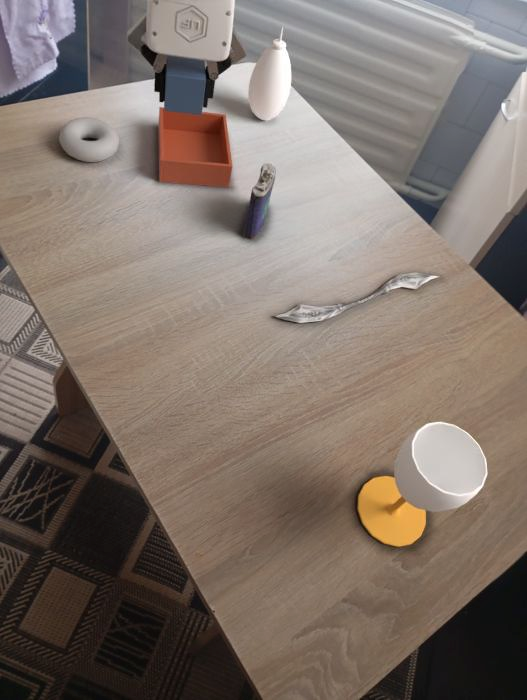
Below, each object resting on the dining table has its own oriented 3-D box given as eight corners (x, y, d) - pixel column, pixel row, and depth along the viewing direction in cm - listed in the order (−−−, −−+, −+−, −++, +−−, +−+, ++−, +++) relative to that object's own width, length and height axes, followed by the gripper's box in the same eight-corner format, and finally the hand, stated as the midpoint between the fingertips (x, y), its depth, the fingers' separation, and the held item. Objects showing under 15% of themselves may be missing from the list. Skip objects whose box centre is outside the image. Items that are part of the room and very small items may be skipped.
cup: (380, 558, 67) (440, 513, 54) (344, 490, 71) (391, 433, 58) (439, 530, 71) (508, 482, 58) (401, 466, 75) (457, 408, 62)
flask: (253, 202, 99) (266, 151, 91) (269, 207, 100) (283, 156, 91) (240, 236, 94) (251, 185, 85) (257, 242, 94) (270, 191, 85)
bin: (159, 181, 98) (160, 160, 94) (158, 128, 106) (159, 106, 103) (228, 187, 101) (232, 166, 97) (222, 135, 109) (225, 114, 105)
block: (164, 110, 75) (166, 74, 71) (164, 89, 77) (166, 53, 73) (201, 115, 76) (206, 80, 72) (200, 94, 79) (204, 59, 75)
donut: (124, 165, 99) (114, 129, 103) (123, 149, 96) (113, 112, 101) (64, 167, 95) (56, 130, 100) (62, 150, 93) (54, 113, 97)
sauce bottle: (289, 121, 116) (312, 32, 102) (264, 133, 112) (285, 42, 98) (261, 102, 118) (280, 12, 104) (236, 113, 114) (252, 21, 100)
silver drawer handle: (272, 315, 85) (289, 339, 83) (273, 312, 85) (290, 337, 83) (423, 260, 99) (441, 280, 97) (425, 258, 99) (443, 277, 97)
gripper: (113, -55, 58) (116, 107, 72) (275, -26, 61) (247, 123, 76) (117, -83, 62) (119, 75, 77) (268, -55, 66) (243, 91, 80)
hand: (183, 97), depth 76 cm, fingers closed on block, 5 cm apart
